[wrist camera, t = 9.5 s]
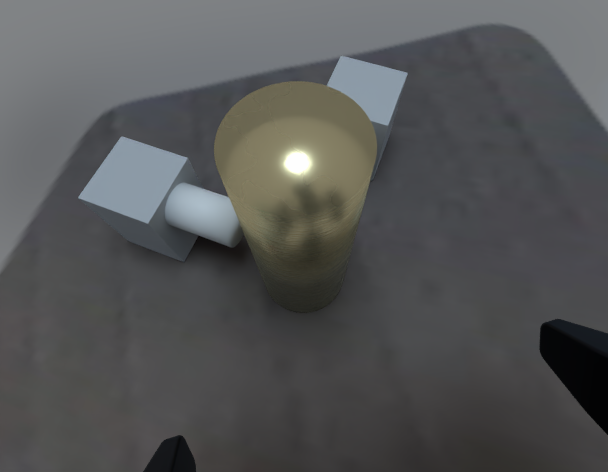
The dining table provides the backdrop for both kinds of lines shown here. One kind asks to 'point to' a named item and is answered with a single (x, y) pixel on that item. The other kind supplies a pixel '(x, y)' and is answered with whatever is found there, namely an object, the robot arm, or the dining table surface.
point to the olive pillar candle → (297, 185)
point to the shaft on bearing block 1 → (159, 201)
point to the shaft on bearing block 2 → (371, 94)
